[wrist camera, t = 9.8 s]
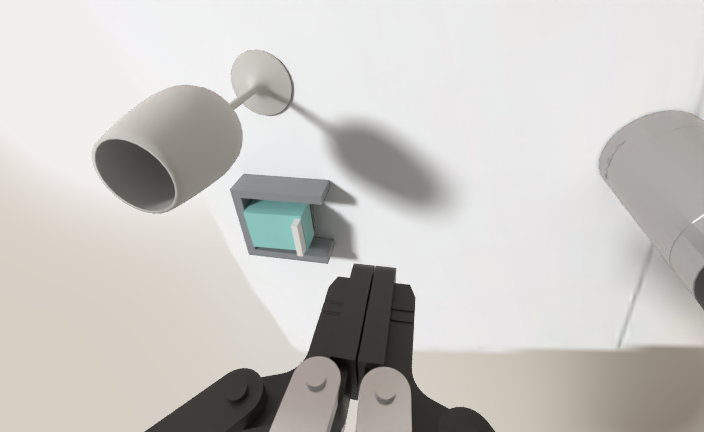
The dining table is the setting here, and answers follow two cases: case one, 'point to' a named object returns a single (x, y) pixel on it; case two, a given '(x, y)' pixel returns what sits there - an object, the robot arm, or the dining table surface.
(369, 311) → the robot arm
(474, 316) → the dining table surface
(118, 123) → the wineglass
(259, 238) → the teal box with handle
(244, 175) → the bay
